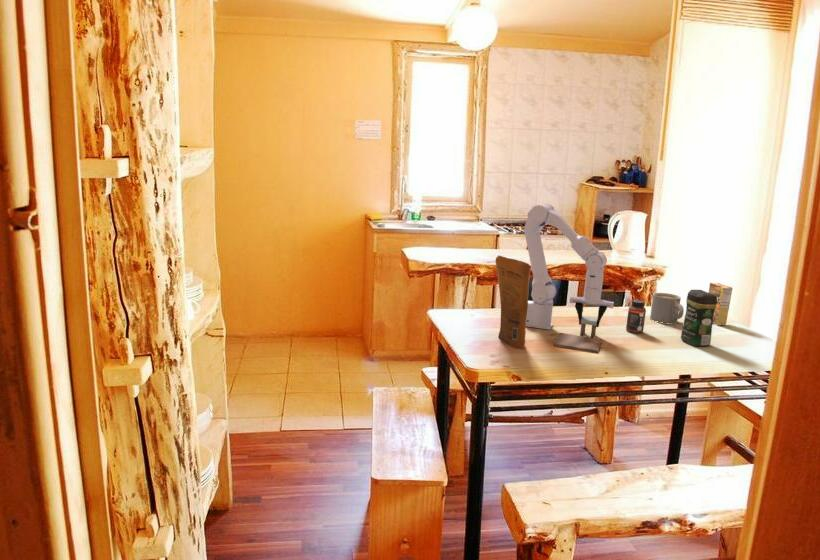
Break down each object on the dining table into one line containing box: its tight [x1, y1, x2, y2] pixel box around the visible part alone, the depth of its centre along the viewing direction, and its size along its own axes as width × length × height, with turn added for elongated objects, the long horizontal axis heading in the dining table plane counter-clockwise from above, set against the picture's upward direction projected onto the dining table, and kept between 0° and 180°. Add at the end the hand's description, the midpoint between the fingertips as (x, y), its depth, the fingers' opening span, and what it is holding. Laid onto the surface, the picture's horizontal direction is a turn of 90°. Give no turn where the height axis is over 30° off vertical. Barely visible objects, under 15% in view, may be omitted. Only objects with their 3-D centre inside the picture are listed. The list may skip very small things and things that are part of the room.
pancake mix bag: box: [495, 255, 532, 350], centre depth 199 cm, size 7×19×28 cm, turn 19°
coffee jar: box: [680, 289, 717, 348], centre depth 210 cm, size 10×8×19 cm
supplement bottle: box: [625, 299, 647, 334], centre depth 222 cm, size 6×6×11 cm
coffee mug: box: [649, 292, 685, 324], centre depth 238 cm, size 13×10×10 cm
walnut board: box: [553, 332, 603, 354], centre depth 204 cm, size 14×14×1 cm
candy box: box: [707, 282, 733, 326], centre depth 240 cm, size 9×4×15 cm, turn 8°
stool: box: [579, 315, 598, 338], centre depth 214 cm, size 5×5×6 cm
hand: (588, 325), depth 214 cm, fingers closed on stool, 5 cm apart
